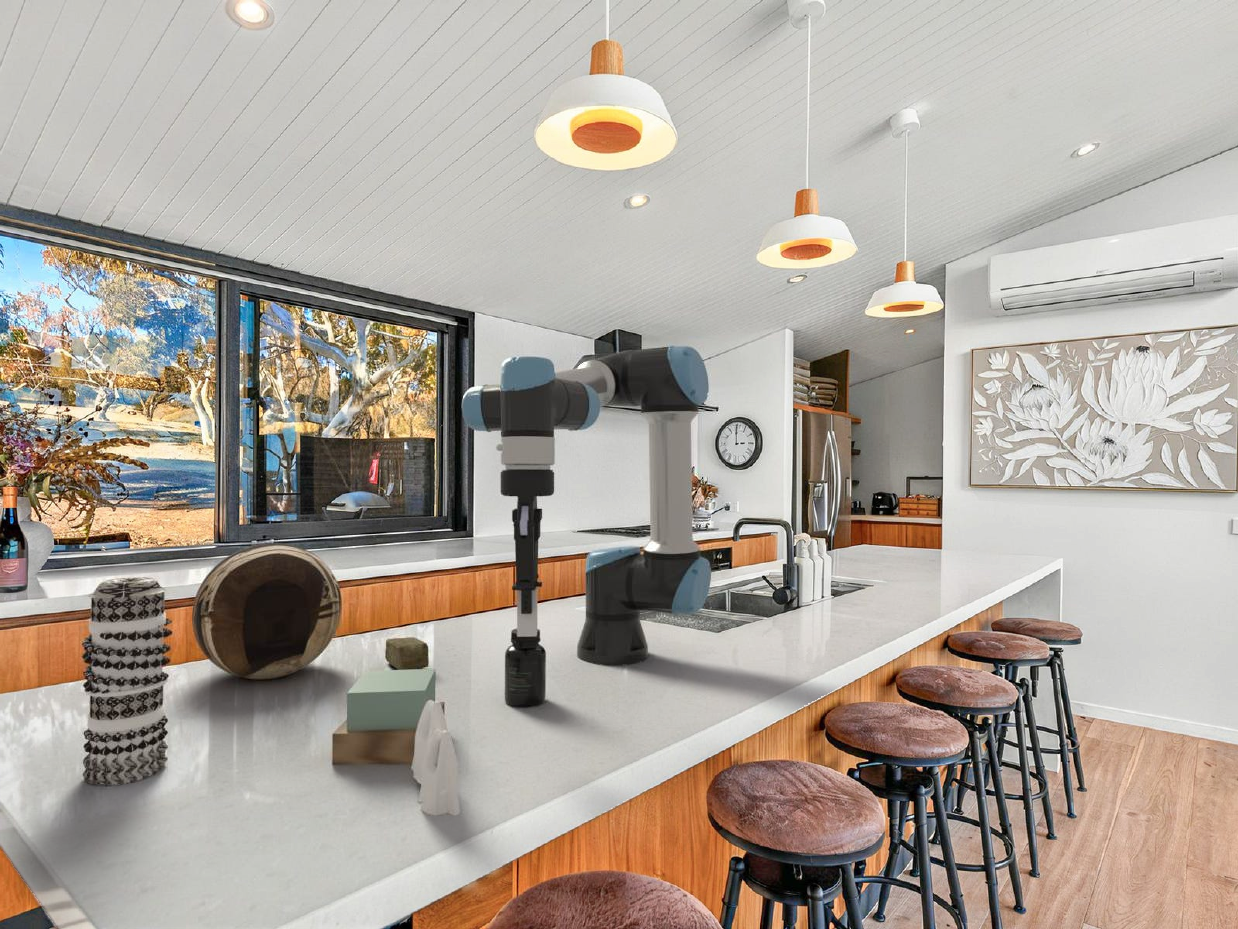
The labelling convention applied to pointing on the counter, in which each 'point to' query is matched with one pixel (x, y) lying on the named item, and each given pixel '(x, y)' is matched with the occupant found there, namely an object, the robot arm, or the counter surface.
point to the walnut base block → (373, 746)
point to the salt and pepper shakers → (435, 763)
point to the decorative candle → (125, 681)
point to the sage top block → (389, 699)
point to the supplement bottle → (525, 671)
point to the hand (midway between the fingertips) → (527, 635)
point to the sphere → (266, 611)
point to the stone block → (407, 653)
